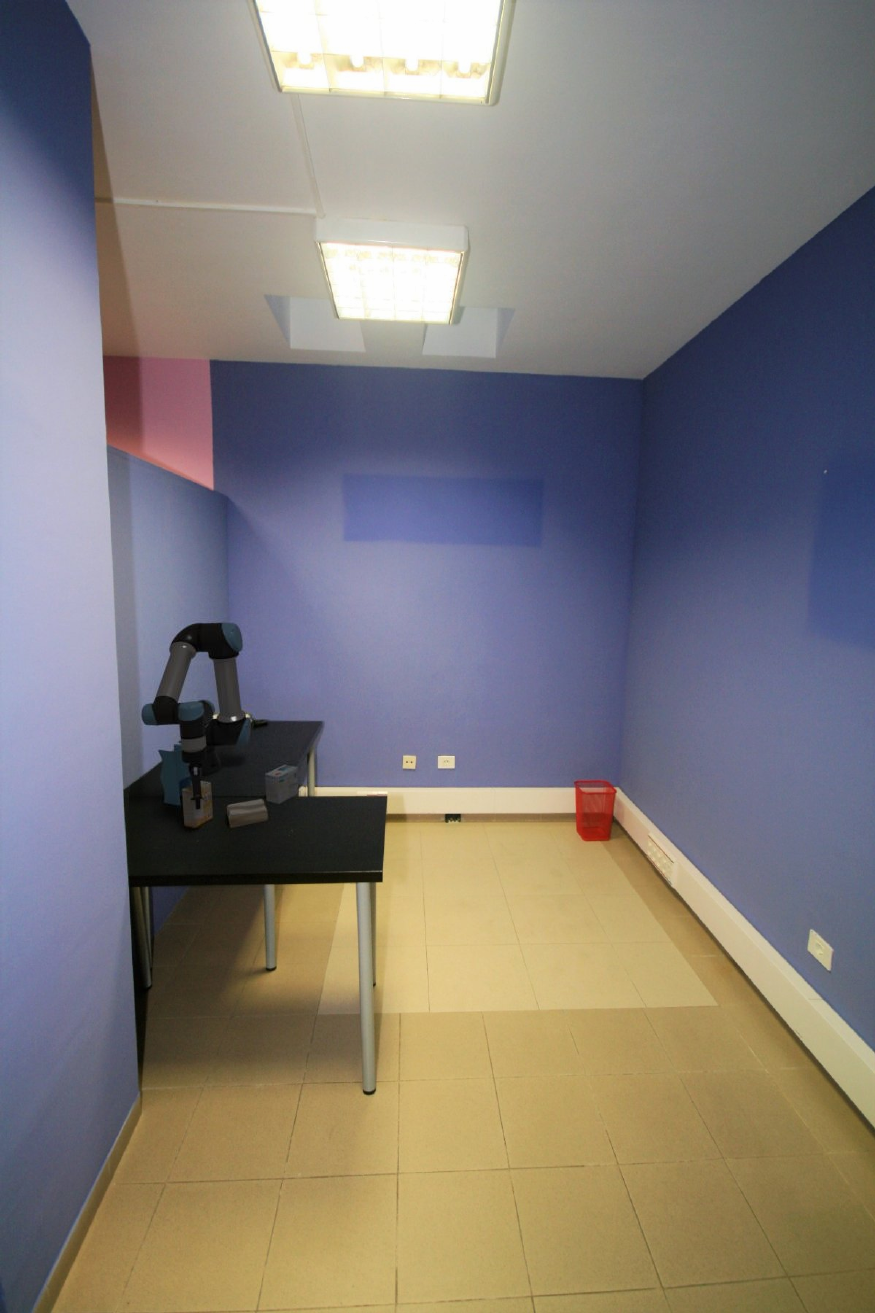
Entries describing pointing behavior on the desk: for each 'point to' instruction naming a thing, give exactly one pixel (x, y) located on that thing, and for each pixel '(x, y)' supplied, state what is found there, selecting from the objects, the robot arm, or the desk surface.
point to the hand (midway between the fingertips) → (198, 809)
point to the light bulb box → (281, 784)
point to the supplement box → (189, 808)
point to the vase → (174, 774)
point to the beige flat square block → (247, 813)
